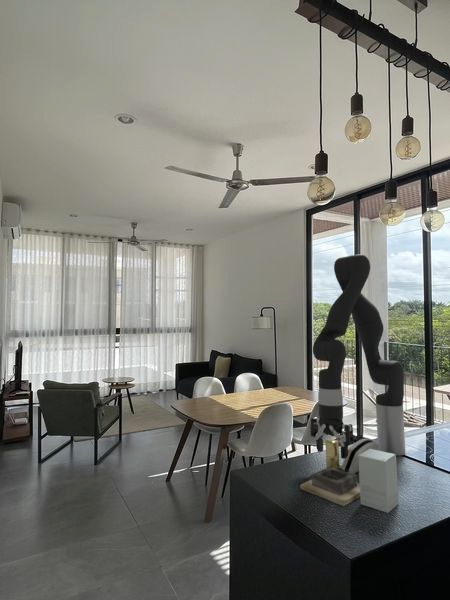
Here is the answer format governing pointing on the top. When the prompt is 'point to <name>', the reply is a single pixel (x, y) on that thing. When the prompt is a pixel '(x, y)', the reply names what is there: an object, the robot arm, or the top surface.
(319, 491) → the socket board
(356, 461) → the white black curved block
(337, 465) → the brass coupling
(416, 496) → the top surface
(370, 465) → the supplement box
